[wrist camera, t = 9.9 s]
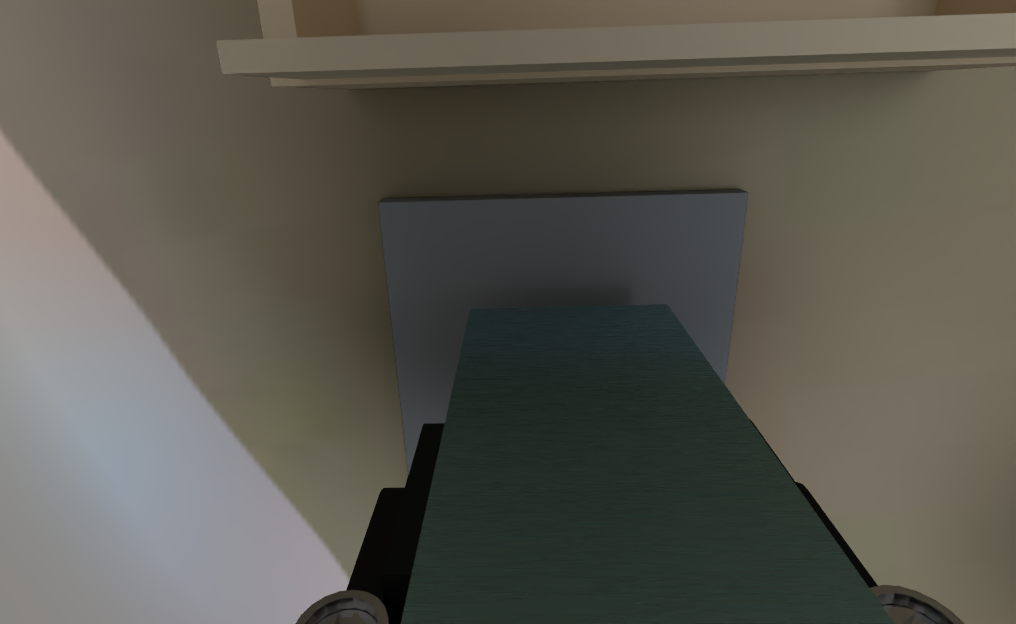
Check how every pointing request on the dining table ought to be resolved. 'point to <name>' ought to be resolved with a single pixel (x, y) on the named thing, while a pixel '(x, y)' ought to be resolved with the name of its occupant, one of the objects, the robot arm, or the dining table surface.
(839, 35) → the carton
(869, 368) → the dining table surface
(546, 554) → the tin
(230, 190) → the dining table surface
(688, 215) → the mat
